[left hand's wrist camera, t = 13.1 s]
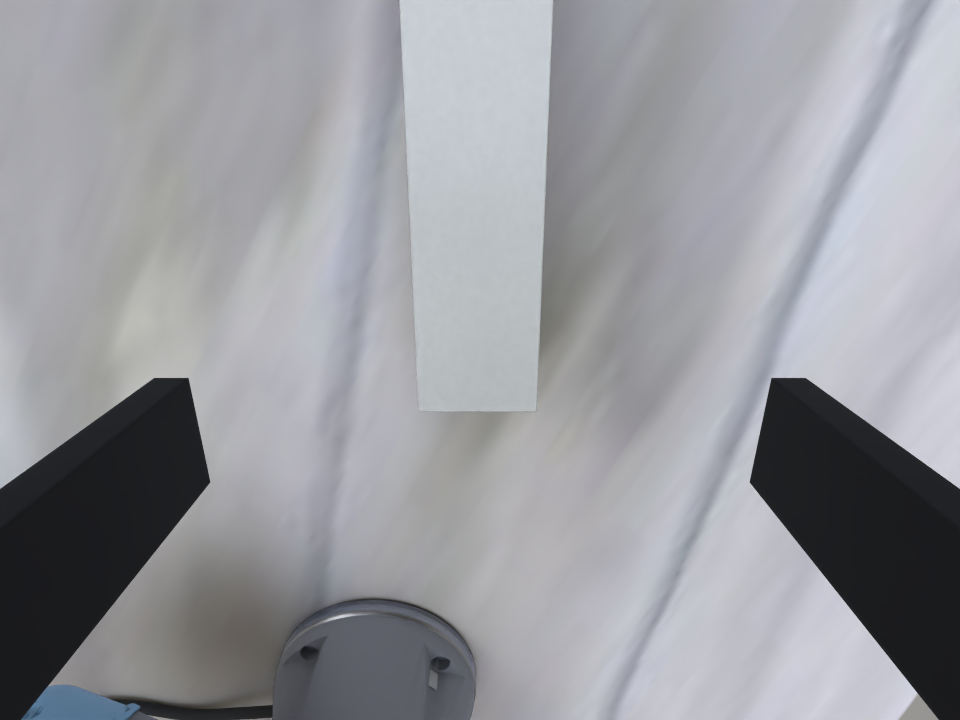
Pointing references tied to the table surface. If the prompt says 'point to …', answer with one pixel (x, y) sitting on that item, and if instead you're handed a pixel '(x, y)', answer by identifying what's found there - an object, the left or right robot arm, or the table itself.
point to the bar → (476, 196)
